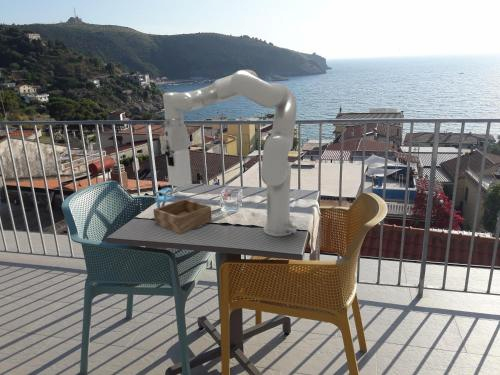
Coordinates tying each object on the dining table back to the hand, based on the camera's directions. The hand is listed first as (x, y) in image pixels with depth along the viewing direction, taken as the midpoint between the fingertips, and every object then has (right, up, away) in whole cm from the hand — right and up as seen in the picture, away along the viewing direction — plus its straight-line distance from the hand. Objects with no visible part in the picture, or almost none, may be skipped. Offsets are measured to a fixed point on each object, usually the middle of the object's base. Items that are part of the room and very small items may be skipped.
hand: (178, 163), depth 165 cm
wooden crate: (+1, -26, +8) cm, 27 cm away
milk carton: (0, -9, +3) cm, 10 cm away
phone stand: (-10, -22, +22) cm, 33 cm away
